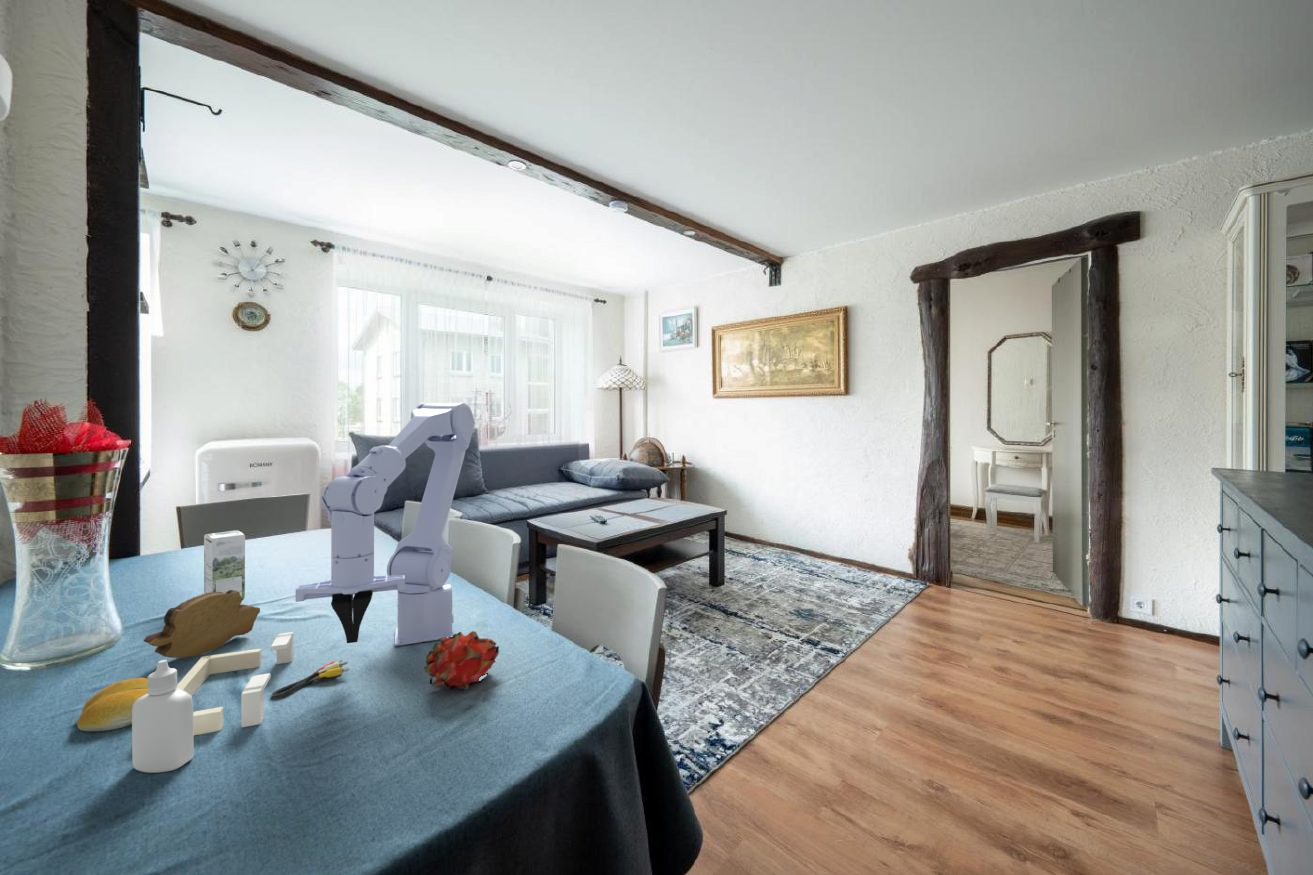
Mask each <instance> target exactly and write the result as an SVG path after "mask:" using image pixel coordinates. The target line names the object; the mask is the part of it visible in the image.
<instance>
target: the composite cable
mask: <svg viewBox="0 0 1313 875" xmlns="http://www.w3.org/2000/svg"><path fill="white" fill-rule="evenodd" d="M348 663H349V661H348V660H347V661H343V660H342V659H340V660H338V661H336V660H335V661H331V662H329V663H328V664H326V665H324V666H322V667H320V668H318V669H317V670H316V671H315V672H312V674H310V675H308V676H307V677H305V678H303V679H300V680H298V681H296V682H292V683H291V684H288V685H285V686H283V687H281V688H278V689H277V690H275V691H273V692H272V693H271V694H270V697H271V698H272V699H274V700H278V699H282V698H286V697H287V696H290V695H292V694H293V693H295V692H297V691H298V690H300V689H301V688H302V687H305V686H307V685H314V684H319V683H323V682H325V681H329V680H332V679H333V680H334V679H335V678H337V677H338V676H341V675H342V674H343V673H344V672H348V671H349V670H350V668H349V667H346V668H343V666H345V665H348Z"/></svg>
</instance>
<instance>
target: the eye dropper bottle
mask: <svg viewBox="0 0 1313 875" xmlns="http://www.w3.org/2000/svg"><path fill="white" fill-rule="evenodd" d="M147 678H148V694H146V695H144V696H142V697H140V698H139V699H137V700H136V701H135V702H134V704H133V707H132V724H131V746H132V750H131V752H132V754H131V755H132V767H133V769H134V770H137V771H139V772H142V773H148V774H152V773H153V774H157V773H165V772H171V771H175V770H177V769H179V768H180V767H182V766H184V765H185V764H187V763H189V761H191V760H192V759H193V758H194V753H195V750H194V749H195V748H194V747H195V746H194V745H195V744H194V739H195V735H194V734H193V712H194V702H193V696H192V697H191V695H190V694H188V693H187V692H185V691H184V690H181V689H179V688H176V687H177V685H178V670H177V669H176V668H172V667H170V666H169V664H168V660H167V659H162V660H159V661H158V662H157V665H156V669H155V671H153V672H152V673H150V674H149V675H148V676H147Z"/></svg>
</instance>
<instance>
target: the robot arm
mask: <svg viewBox="0 0 1313 875" xmlns="http://www.w3.org/2000/svg"><path fill="white" fill-rule="evenodd" d="M475 424H476V422H475V418H474V414H473V411H472V409H471V407H470V406H469V405H468V404H467V403H464V402H459V403H429V402H421V403H419V404H417V406H416V408H414V409H413V410H412V411H411V412H410V420H409V421H408V423H407V424H406V425H404V427H403V428H402V430H400V432H399V433H398V434H397V435H396V436H395V437H394V438H393V440H391V442H389V443H388V445H382V444H381V445H379V446H373V447H372V448H371V449H369V451H368V452H369V453H368V455H366V456H365V457H364V458H363V459H362V460H361V461H360V462H359V463H358V464H357V465H355V466H353V467H352V468H350V469H349V470H350V471H348V473H347V474H346V476H345V475H342V476H337V477H335V478H334V479H333V480H331V481H330V482H329V483H328V484H327V485H326V487H325V489H324V492H323V495H321V496H320V500H321V505H322V507H323V508H324V510H325V511H326V513H327V521H328V522H329V524H330V525H331V531H330V533H331V534H330V535H331V537H330V538H331V540H330V542H331V543H330V544H331V546H330V547H331V548H330V549H331V550H330V551H331V553H330V554H331V556H330V557H331V558H330V559H331V561H330V563H331V564H330V568H331V569H330V570H331V572H330V573H331V575H330V578H331V579H330V580H326V581H320V582H316V583H315V582H313V583H308V584H299V585H298V586H296V588H295V603H298V602H304V601H305V600H313V599H315V600H316V599H323V598H331V602H330V603H331V604H330V606H331V608H332V609H333V611H334V612H335V614H336V615H337V618H338V619H339V621H340V623H341V626H342V628H343V631H344V634H345V639H346V644H352V643H357V642H358V640H359V634H360V633H359V632H360V627H361V624H362V621H363V619H364V617H365V614H366V612H367V609H368V608H369V605H370V603H371V602H372V598H373V593H378V592H379V593H381V592H388V591H397V626H396V628H395V633H394V645H393V646H395V647H398V646H399V647H400V646H405V645H412V644H419V643H423V642H424V643H426V642H430V641H431V642H432V641H439V640H438V639H440V638H442V637H451V636H452V637H453V624H454V613H453V586H452V584H450V583H449V584H447V583H446V582H447V581H448V579H449V578H450V575H451V571H452V554H453V551H454V550H453V548H452V546H451V545H450V544H449V543H448V542H447V541H446V540H445V538H444V537H443V536H444V533H445V529H446V525H447V521H448V518H449V515H450V510H451V507H452V503H453V500H454V495H455V493H456V488H457V485H458V481H459V477H460V474H461V470H462V467H463V463H464V460H465V455H466V451H467V449H469V446H470V443H471V439H472V436H473V432H474V428H475ZM423 444H426V446H427V447H428V449H429V448H430V449H431V450H433V452H434V457H433V458H434V459H433V461H432V466H431V468H430V472H429V475H428V480H427V482H426V485H425V490H424V493H423V496H422V500H421V502H420V506H419V509H418V513H417V517H416V520H415V523H414V526H413V531H412V532H410V533H409V534H407V536H405V537H403V538H402V539H401V540H399V541H398V542H397V546H396V549H395V551H394V552H393V553H392V554H391V556H390V558H389V561H388V563H387V566H386V567H387V568H386V575H375V512H377V511H378V510H380V509H381V507H382V505H383V502H384V498H385V495H386V494H387V492H388V487H390V486H391V484H393V482H394V481H395V480H396V479H397V478H398V477H399V476H400V474H402V473H403V472H404V470H405V469H406V466H407V462H406V459H407V458H408V457H409V456H410V455H411V454H412V453H414V451H415V450H417V449H418V448H419V447H420V446H421V445H423Z"/></svg>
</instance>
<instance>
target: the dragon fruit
mask: <svg viewBox="0 0 1313 875" xmlns="http://www.w3.org/2000/svg"><path fill="white" fill-rule="evenodd" d="M438 641H441V642H435V643H434V644H433V647H432V648H431V649H432V650H429V651H428V654H426V656H425V659H426V661H425V664H426V666H424V668H423V669H424V670H425V673H426V674H427V675H429V676H430V678H429V683H428V684H429V685H431V686H433V687H436V686H440V685H442V684H443V686H444V688H445V689H447V690H448V689H451V687H453V686H454V687H458V689H463V690H462V691H465V690H467V689H469V686H470V684H471V683H476V682H477V683H478V682H479V678H480V677H481V676H483V675H485V674H488V675H489V672H488V671H489V670H490V669H491V668H492V666H493V665H494V664H495V663H496V658H498V655H499V652H500V650H499V649H500V646H499V645H497V643H496V642H495V641H494V640H493V639H492V638H490V639H489V638H480V637H479V635H478V633H477V631H475V630H473V631H470V633H468V634H467V635H464V634H463V632H461V631H459V632H458V633H454V634H452V637H451V638H447V637H442V638H440V639H439V640H438ZM496 645H497V646H496ZM433 678H435V681H433ZM479 683H480V682H479Z"/></svg>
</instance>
